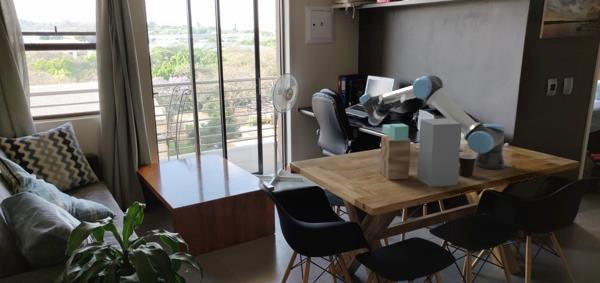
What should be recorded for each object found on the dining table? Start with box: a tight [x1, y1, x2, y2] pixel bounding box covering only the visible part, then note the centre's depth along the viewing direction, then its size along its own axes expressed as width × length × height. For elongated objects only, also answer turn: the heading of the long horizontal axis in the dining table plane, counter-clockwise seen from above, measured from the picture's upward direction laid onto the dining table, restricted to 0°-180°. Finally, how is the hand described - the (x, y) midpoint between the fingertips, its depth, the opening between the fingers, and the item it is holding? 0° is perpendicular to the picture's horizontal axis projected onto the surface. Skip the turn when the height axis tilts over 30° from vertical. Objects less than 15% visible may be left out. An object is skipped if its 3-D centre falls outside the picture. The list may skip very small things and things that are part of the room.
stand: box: [417, 117, 462, 188], centre depth 216 cm, size 14×14×30 cm
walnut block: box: [379, 135, 411, 180], centre depth 227 cm, size 11×11×20 cm
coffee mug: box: [458, 154, 477, 178], centre depth 229 cm, size 12×9×10 cm
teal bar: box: [381, 123, 409, 141], centre depth 228 cm, size 21×7×7 cm, turn 10°
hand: (393, 96), depth 244 cm, fingers open, 13 cm apart
